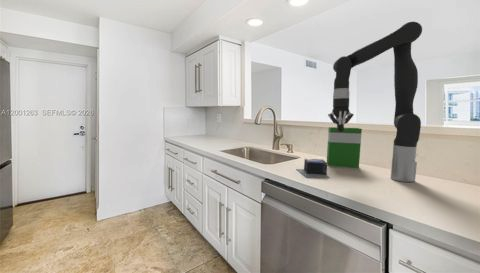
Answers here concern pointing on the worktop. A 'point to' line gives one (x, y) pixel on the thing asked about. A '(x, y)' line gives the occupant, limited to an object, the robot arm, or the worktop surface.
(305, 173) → the mat
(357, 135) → the green cereal box
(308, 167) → the small box
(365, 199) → the worktop surface
